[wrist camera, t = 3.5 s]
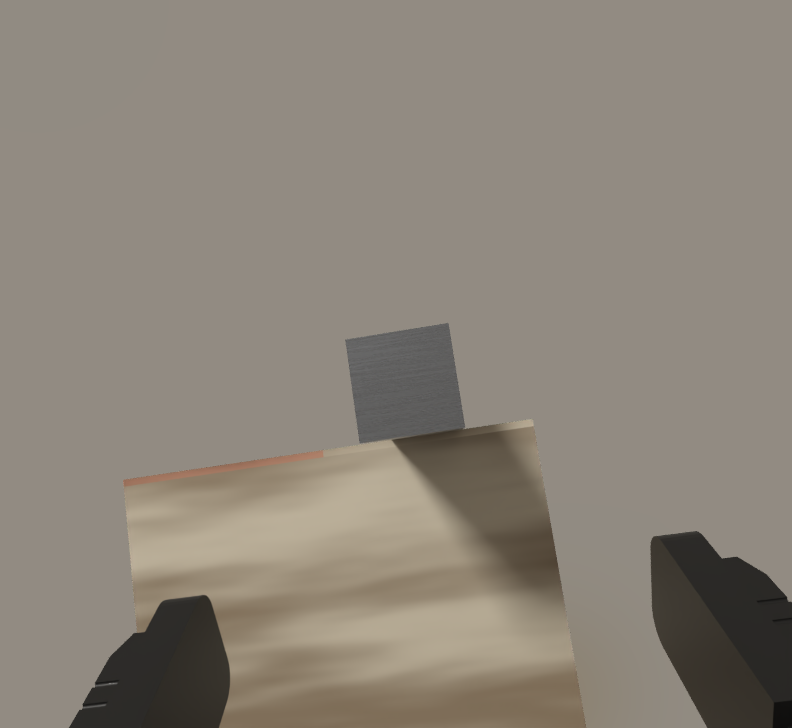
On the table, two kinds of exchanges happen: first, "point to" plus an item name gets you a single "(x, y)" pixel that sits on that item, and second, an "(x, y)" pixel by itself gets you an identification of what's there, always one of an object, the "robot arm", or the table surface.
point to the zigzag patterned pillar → (371, 582)
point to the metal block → (404, 384)
